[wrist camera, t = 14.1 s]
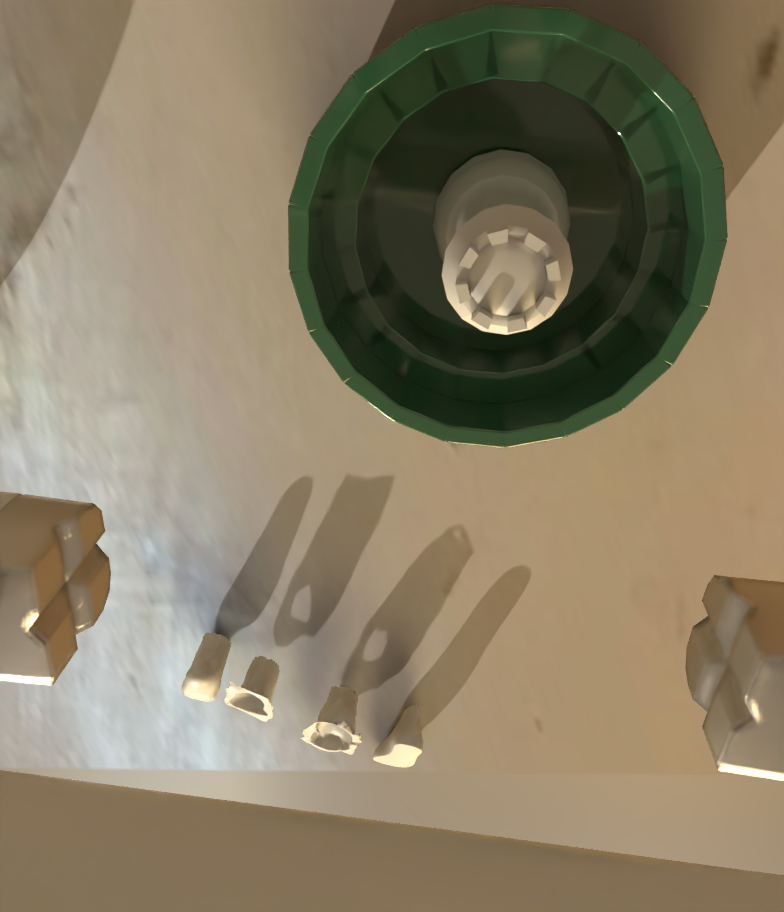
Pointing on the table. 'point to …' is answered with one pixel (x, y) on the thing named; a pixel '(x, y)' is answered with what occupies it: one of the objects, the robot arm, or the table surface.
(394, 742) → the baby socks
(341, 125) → the bowl
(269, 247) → the table surface
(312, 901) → the robot arm
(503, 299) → the rook chess piece
